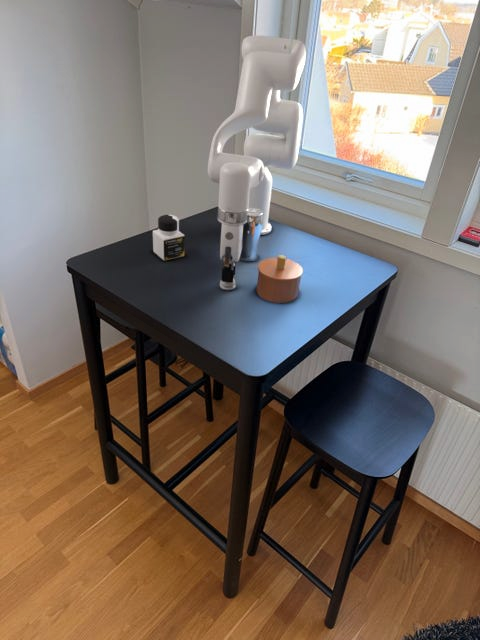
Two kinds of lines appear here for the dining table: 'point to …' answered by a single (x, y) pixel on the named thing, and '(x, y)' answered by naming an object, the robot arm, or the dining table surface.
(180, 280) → the dining table surface
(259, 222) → the metal shaker cup
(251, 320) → the dining table surface
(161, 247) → the medicine bottle
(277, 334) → the dining table surface
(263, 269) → the pot lid
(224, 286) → the rook chess piece
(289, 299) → the pot
